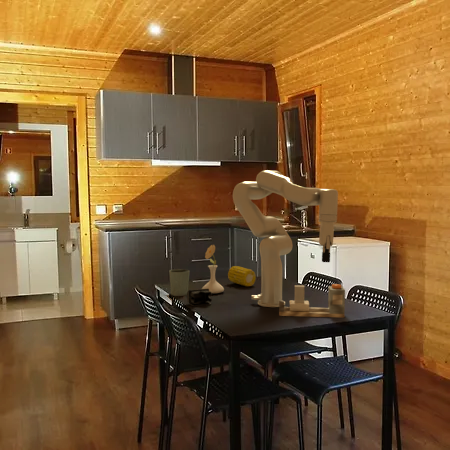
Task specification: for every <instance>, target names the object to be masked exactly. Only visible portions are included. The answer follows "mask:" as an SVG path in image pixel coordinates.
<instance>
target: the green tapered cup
mask: <svg viewBox="0 0 450 450" xmlns="http://www.w3.org/2000/svg"><path fill="white" fill-rule="evenodd" d="M168 272H169V284H170V295H171V296H174V297H182V296H183V297H184V296H187V292H188V291H189V280H190V272H191V271H190V270H189V269H183V268H181V269H180V268H176V269H174V268H173V269H169V271H168Z"/></svg>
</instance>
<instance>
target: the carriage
mask: <svg viewBox="0 0 450 450" xmlns="http://www.w3.org/2000/svg"><path fill="white" fill-rule="evenodd" d="M289 307H290V310H292V311H309V307H310V302H309V300H305V285H298V284H297V285H296V284H295V285H294V300H293V299H292V300H289Z"/></svg>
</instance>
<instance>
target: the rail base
mask: <svg viewBox="0 0 450 450" xmlns="http://www.w3.org/2000/svg"><path fill="white" fill-rule="evenodd" d="M327 294H328V296H327V301H328V302H327V303H328V304H327V307H313V306H311V307H310V306H309V311H292V310H290V306H285V305H284V302H285V301H284V300H282V301H279V307H278V316H280V317H282V316H283V317H284V316H286V317H308V318H309V317H313V318H316V317H317V318H345V313H346V312H345V311H346V307H345V306H346V305H345V303H346V302H345V301H346V289H345V288H344V287H343V285H342V287H341V289H334V288H332V285H328V293H327Z"/></svg>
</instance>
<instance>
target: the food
mask: <svg viewBox="0 0 450 450" xmlns="http://www.w3.org/2000/svg"><path fill="white" fill-rule="evenodd" d="M227 272H228V273H227V276H228V277H227V278H228V280H229V281H230V282H231V283H234V284H236V285H241V286H243V287H246V288H247V287H252V286H253V285H254V284H255V282H256V278H257V277H256V273H255V271H253V270H252V269H250V268H246V267H242V266H238V265H233V266H231V267H230V268H229V270H228V271H227Z"/></svg>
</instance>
